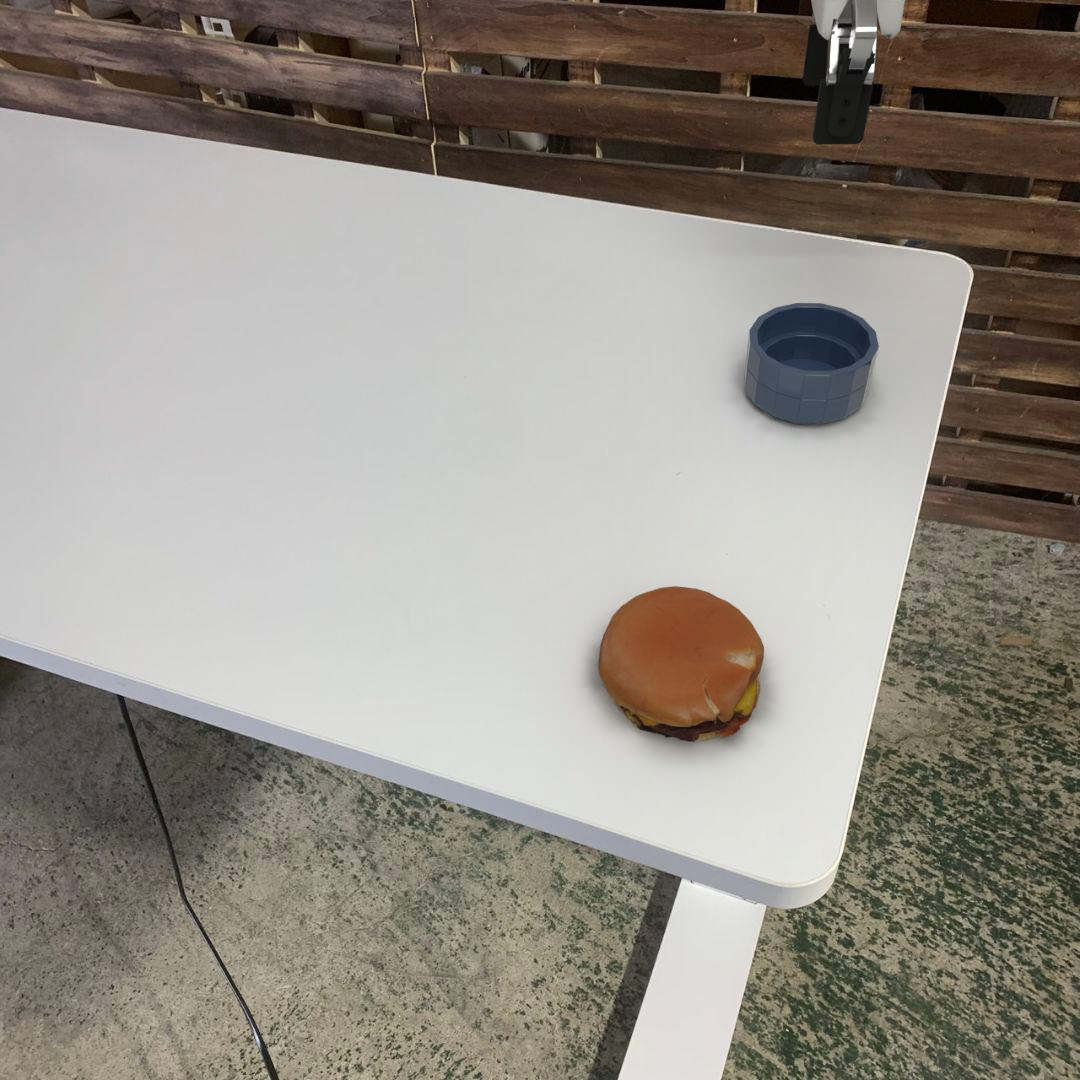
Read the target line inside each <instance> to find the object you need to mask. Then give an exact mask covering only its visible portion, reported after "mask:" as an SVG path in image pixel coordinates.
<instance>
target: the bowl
mask: <svg viewBox="0 0 1080 1080" xmlns="http://www.w3.org/2000/svg"><path fill="white" fill-rule="evenodd" d="M747 340H748V341H747V347H746V348H747V349H746V358H745V366H744V374H743V380H744V381H743V382H744V391H745V393H746V394H747V396H748V397H749V399H750V401H752V403H753V404H754V405H755V406H756V407H758V408H759V409H761V410H763V411H764V412H765V413H767V414H769V415H770V416H772V417H774V418H777V419H779V420H781V421H785V422H789V423H793V424H799V425H822V424H826V423H830V422H831V423H832V422H834V421H840V420H843V419H846V418H847V417H849V416H850V415H851V414H853V413H855V412H856V411H857V410H859V409H860V408H861V407H862V406H863V404H864V402H865V400H866V398H867V396H868V395H869V389H870V385H871V383H872V377H873V373H874V369H875V364H876V360H877V356H878V352H879V348H880V345H879V340H878V335H877V332H876V330H875V329H874V328H873V327H872V326H871V325H870V324H869V323H868V322H867V320H866V319H865V318H864V317H861V316H859V315H858V314H856V313H854V312H852V311H849V310H848V309H846V308H843V307H840V306H835V305H831V304H825V303H822V302H821V303H820V302H795V303H789V304H785V305H780V306H776V307H774V308H772V309H769V310H768V311H766V312H764V313H762V314H761V315H759V316H758V317H757V319H755V321H754V322H753V324H752V325H751V327H750V329H749V330H748V339H747Z"/></svg>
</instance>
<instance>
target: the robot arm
mask: <svg viewBox="0 0 1080 1080" xmlns="http://www.w3.org/2000/svg"><path fill="white" fill-rule="evenodd" d="M810 1H811V7H812V23H811V24H809V25H808V31H807V40H806V47H805V54H804V62H803V69H802V83H803V85H804V86H807V87H809V86H813V87H814V86H815V87H816V86H817V87H818V86H819V89H818V96H817V103H816V109H815V116H814V123H813V131H812V141H813V143H814V144H816V145H820V146H821V145H822V146H823V145H859V144H861V143H862V142H863V140H864V137H865V131H866V126H867V121H868V116H869V110H870V104H871V99H872V93H873V90H874V89H873V88H874V84H875V83H874V82H875V81H874V78H875V68H876V67H875V65H876V53H877V52H876V51H877V41H878V40H877V38H878V29H879V31H880V34H881V36H885V38H886V39H887V40H892V39H894V38H895V37H896V36H897V35H898V34H899V33H900V31H901V27H902V22H903V15H904V10H905V3H906V0H810Z"/></svg>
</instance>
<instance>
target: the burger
mask: <svg viewBox="0 0 1080 1080" xmlns="http://www.w3.org/2000/svg"><path fill="white" fill-rule="evenodd" d="M610 618H611V619H610V621H609V623H608V625H607V626H606V628H605V630H604V633H603V635H602V638H601V641H600V646H599V654H598V663H597V664H598V675H599V677H600V680H601V682H602V685H603V686H604V688H605V690H606V691H607V693H608V695H609V697H610V699H611V700H612V702H613V703H614V704H615V706H616V707H617V708H618V709H619V711H620V712H621V713H622V714H623V715H624V716H625V717H626V718H627V719H628V720H629V721H630V722H631V723H632V724H633V725H634V726H635V727H636V728H637V729H638V730H639V731H643V732H647V733H650V734H654V735H660V736H663V737H664V738H675V739H677V740H680V741H686V742H690V743H695V742H696V741H698V740H699V741H708V740H711V739H713V738H715V737H719V738H723V739H724V738H728V737H731V736H733V735H735V734H737V733H738V732H739V731H740V730H741V727H742V726H743V725H744V724H746V723H747V722H749V720H750V718H751V716H752V714H753V711H754V710H755V708H757V703H758V701H759V698H760V692H761V684H760V677H759V676H760V674H761V671H762V666H763V663H764V657H765V646H764V643H763V640H762V638H761V636H760V635H759V633H758V631H757V630H756V628H755V626H754V624H753V622H752V621H751V620H750V619H749V618H748V617H747V616H746V615H745V614H744V613H743V612H742V611H741V609H739V608H738V607H736V606H735V605H733V604H732V603H731V602H729V601H727V600H725V599H723V598H721V597H718V596H716V595H715V594H713V593H711V592H709V591H706V590H702V589H700V588H699V589H698V588H693V587H687V586H679V585H678V586H677V585H674V586H663V587H658V588H655V589H652V590H649V591H645V592H643V593H640V594H638V595H636V596H634V597H632V598H631V599H630V600H628V601H627V602H625V603H624V604H622V605H621V606H620V607H619V608H618V609H617V610H616V611H615V613H614V614H613V615H612V616H611V617H610Z"/></svg>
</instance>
